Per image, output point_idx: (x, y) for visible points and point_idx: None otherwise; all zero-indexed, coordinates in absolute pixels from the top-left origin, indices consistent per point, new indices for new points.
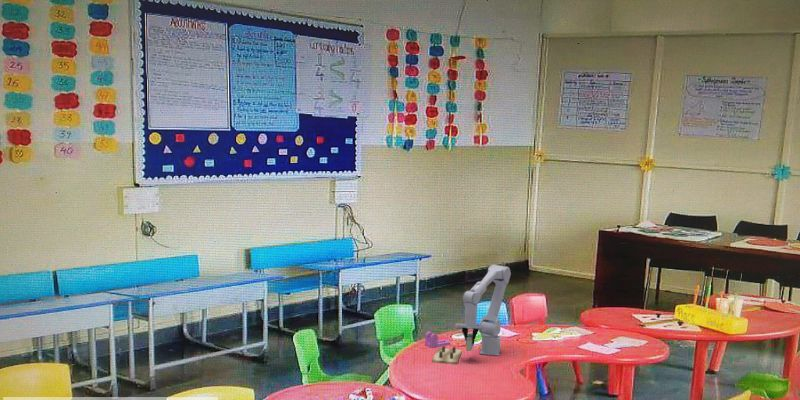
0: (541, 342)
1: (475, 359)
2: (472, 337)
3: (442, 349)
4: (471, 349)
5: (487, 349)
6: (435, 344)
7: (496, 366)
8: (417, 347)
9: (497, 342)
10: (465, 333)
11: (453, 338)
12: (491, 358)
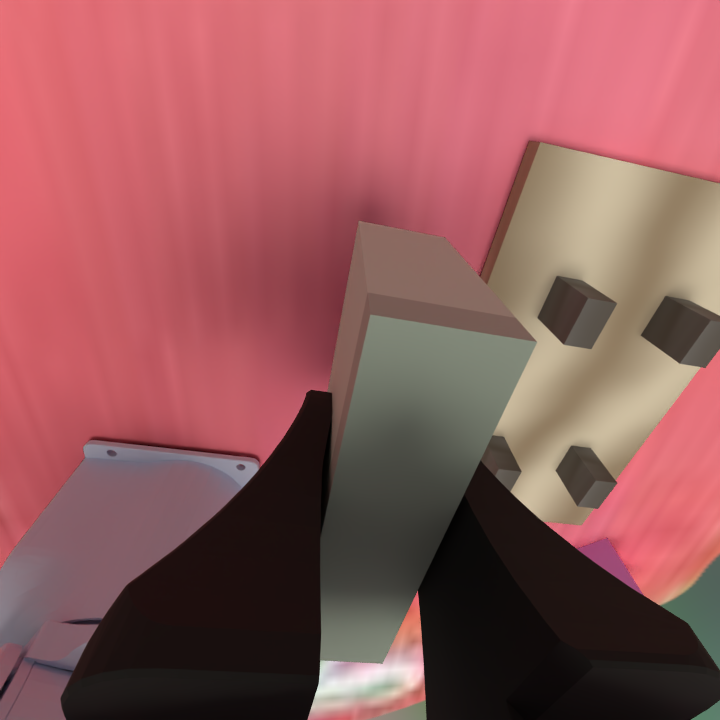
0: None
1: (297, 331)
2: (325, 497)
3: (601, 465)
4: (349, 273)
5: (178, 491)
6: None
7: (10, 83)
8: (703, 535)
9: (32, 559)
10: (553, 574)
11: (419, 656)
12: (141, 372)
